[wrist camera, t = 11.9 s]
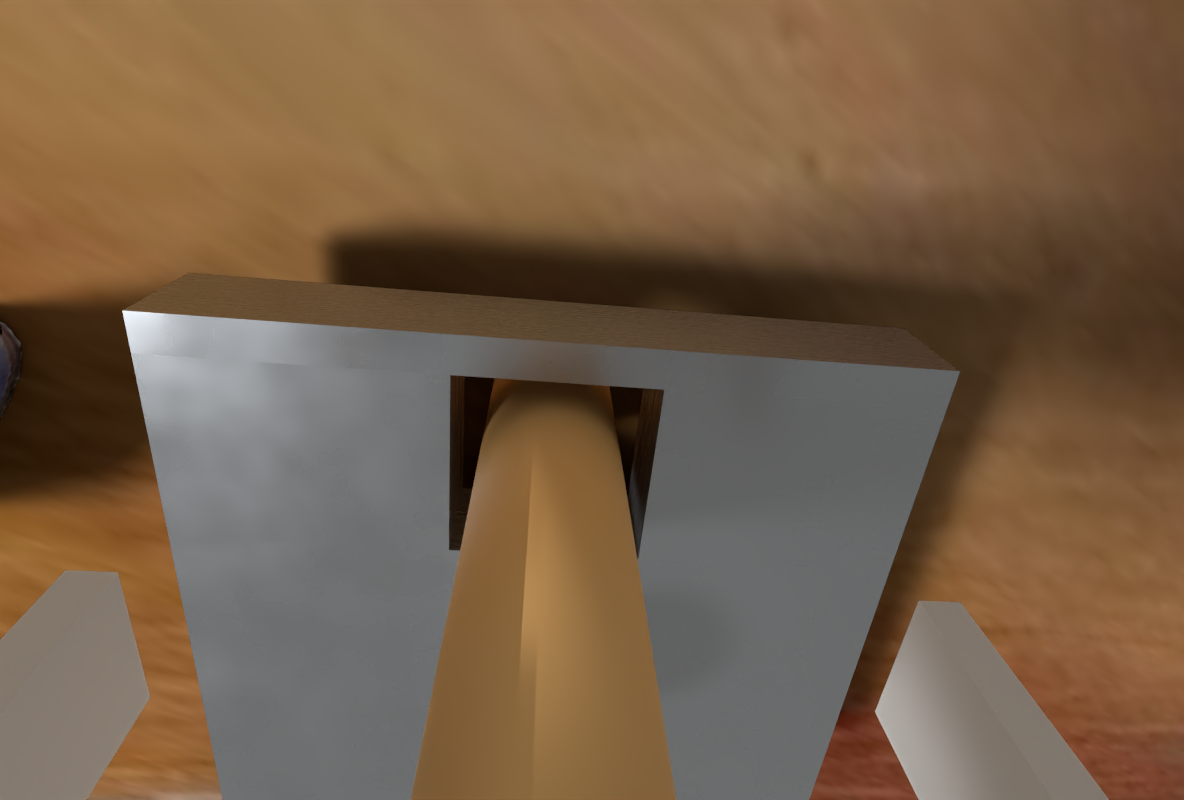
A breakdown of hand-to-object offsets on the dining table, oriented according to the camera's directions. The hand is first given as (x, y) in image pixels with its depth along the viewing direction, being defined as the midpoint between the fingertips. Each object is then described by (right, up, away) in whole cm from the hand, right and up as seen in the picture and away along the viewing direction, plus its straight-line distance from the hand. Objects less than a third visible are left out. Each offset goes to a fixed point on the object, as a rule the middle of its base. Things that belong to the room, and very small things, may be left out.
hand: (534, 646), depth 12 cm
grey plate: (-1, -2, +14) cm, 14 cm away
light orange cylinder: (0, +5, +11) cm, 12 cm away
